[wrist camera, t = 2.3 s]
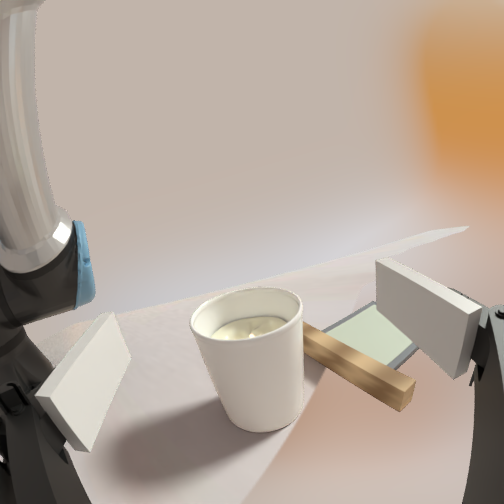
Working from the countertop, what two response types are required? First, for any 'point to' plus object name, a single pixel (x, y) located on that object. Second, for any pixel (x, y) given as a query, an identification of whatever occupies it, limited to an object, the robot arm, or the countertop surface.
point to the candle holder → (254, 354)
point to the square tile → (373, 336)
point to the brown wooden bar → (359, 368)
